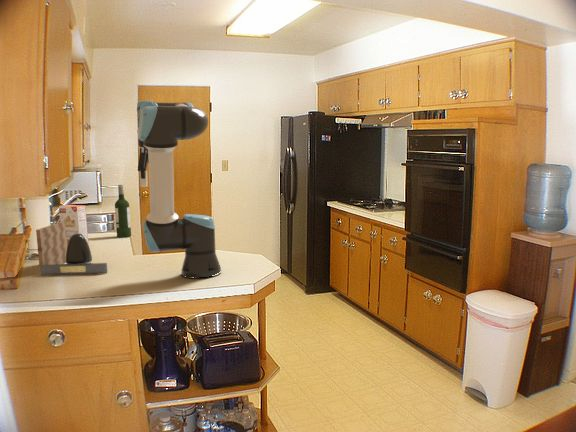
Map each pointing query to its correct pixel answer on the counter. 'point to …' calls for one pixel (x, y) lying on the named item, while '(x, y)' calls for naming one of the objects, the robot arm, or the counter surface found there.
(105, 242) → the counter surface
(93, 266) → the price rail
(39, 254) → the shelf side panel
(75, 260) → the black rounded dome
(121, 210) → the wine bottle
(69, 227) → the cracker box
